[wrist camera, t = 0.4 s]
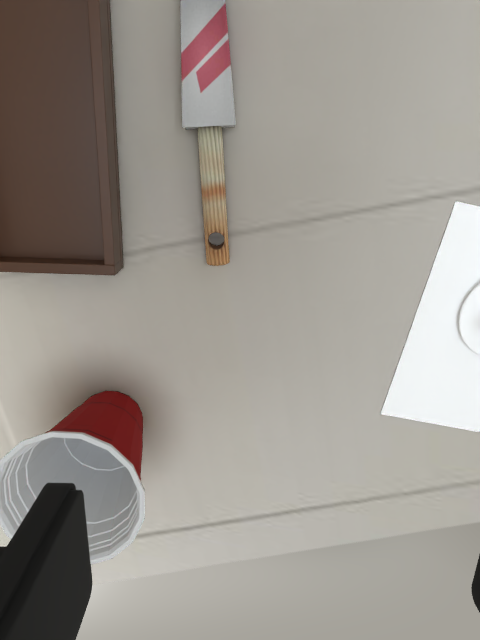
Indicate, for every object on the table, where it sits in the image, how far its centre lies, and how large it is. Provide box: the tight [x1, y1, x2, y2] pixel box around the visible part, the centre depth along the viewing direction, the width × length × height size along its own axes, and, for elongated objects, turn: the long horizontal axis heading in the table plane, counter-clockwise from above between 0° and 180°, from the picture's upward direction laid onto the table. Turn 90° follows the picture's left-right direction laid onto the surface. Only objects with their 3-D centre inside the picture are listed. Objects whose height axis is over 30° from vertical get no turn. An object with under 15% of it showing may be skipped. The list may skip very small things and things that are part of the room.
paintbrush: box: [180, 0, 236, 266], centre depth 33 cm, size 4×3×20 cm
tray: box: [0, 0, 123, 275], centre depth 32 cm, size 26×11×3 cm, turn 178°
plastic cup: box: [0, 391, 145, 564], centre depth 36 cm, size 11×11×12 cm
